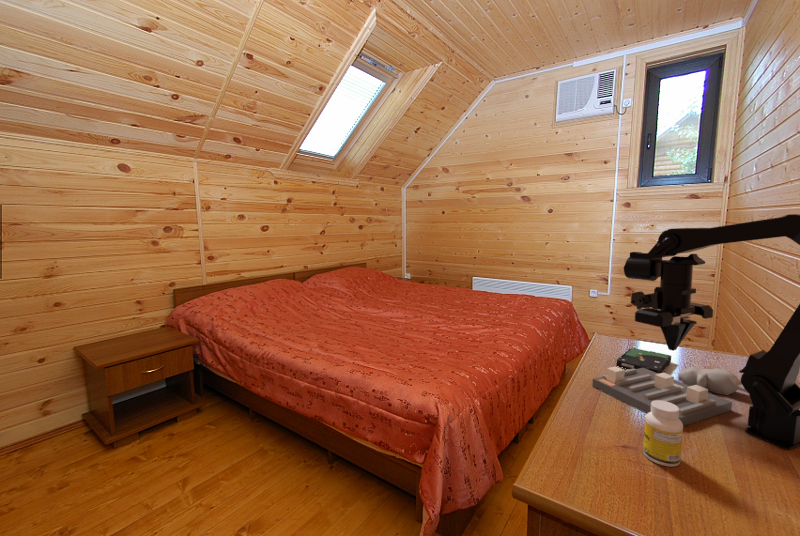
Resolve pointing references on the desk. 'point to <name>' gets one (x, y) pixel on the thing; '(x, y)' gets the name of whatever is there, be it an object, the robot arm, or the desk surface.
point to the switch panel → (660, 395)
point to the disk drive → (644, 360)
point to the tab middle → (663, 381)
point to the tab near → (696, 394)
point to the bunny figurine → (712, 380)
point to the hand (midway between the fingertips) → (672, 349)
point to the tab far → (615, 374)
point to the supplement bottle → (663, 434)
